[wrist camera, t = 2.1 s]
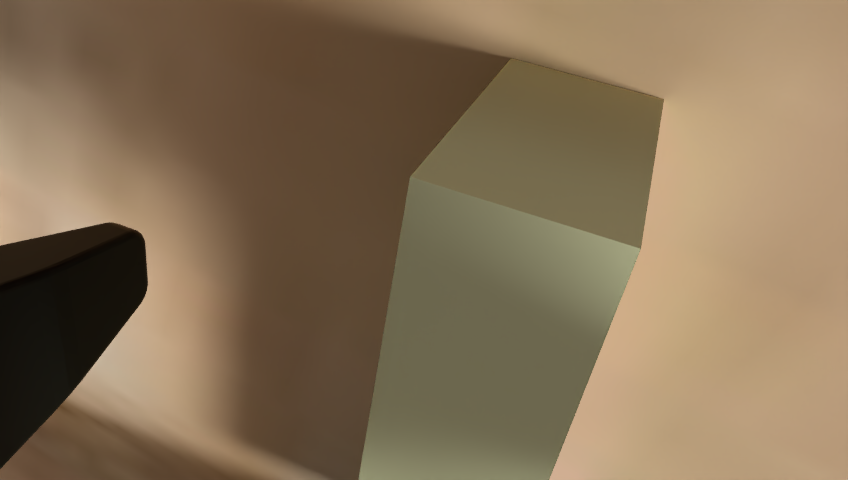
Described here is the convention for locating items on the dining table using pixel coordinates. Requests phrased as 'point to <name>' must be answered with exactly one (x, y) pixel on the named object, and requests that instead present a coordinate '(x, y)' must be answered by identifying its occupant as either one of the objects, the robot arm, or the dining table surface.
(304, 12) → the dining table surface
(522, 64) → the pale green pillar
